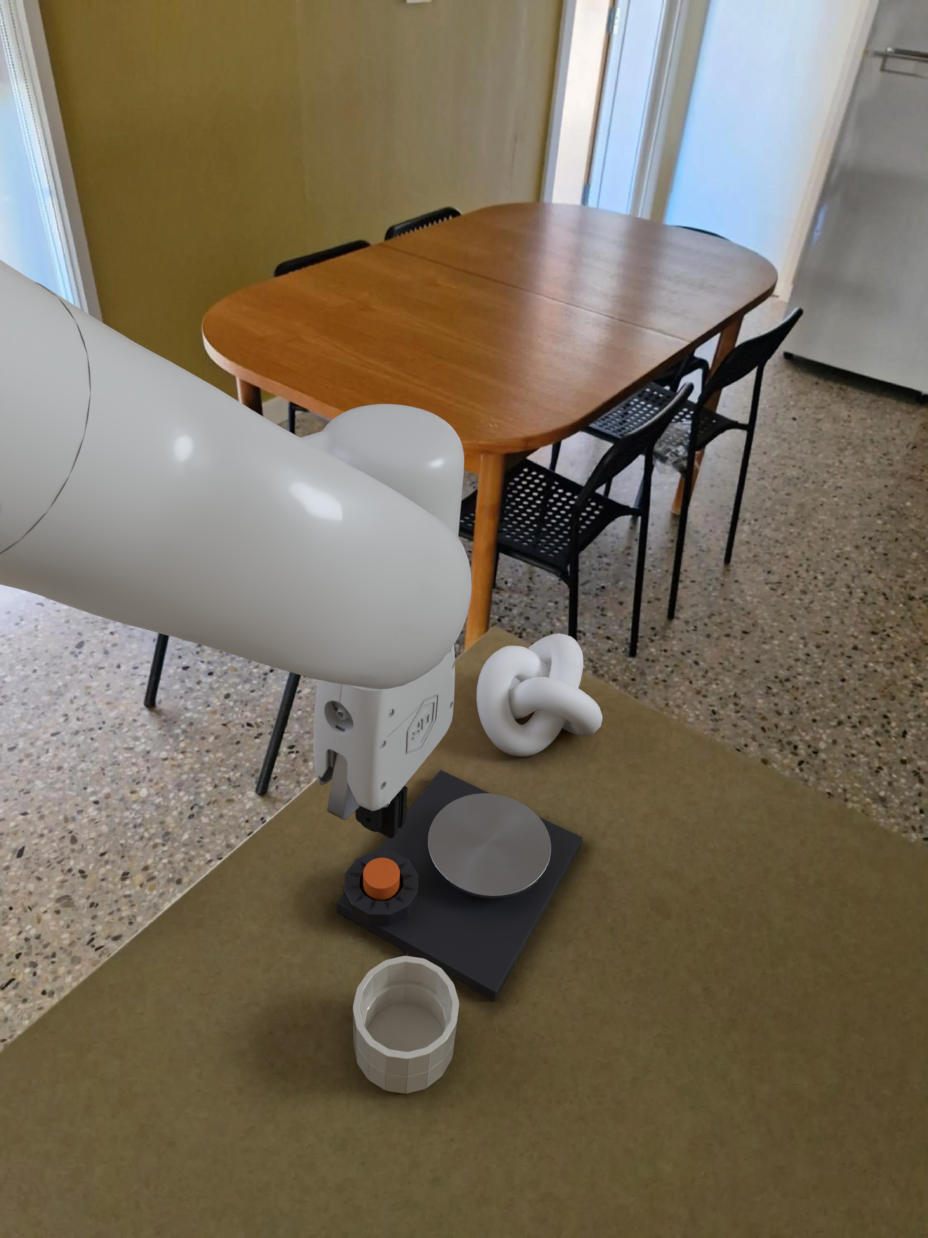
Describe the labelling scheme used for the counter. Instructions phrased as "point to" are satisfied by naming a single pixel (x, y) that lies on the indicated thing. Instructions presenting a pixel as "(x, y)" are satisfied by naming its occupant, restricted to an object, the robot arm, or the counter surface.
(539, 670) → the white knot sculpture
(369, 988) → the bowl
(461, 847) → the brushed metal disc
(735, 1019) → the counter surface
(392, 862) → the tare button
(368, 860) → the scale
